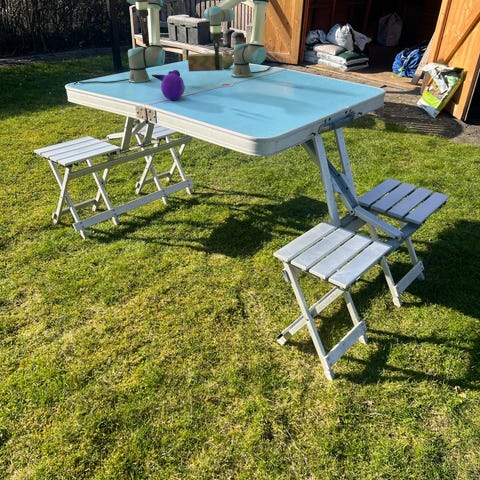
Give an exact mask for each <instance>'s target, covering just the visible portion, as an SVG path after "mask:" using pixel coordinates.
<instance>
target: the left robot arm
mask: <svg viewBox="0 0 480 480" xmlns="http://www.w3.org/2000/svg"><path fill="white" fill-rule="evenodd" d="M126 2H127V3H129V4H130V5H133V6H135V9H136V16H137V17H139V22H140V33H141V39H142V45H145V47H146V48H144V47H143V46H138V47H134V48H130V49H128V50H127V56H128V66H129V76H128V78H124V79H119V80H108V81H107V80H106V81H105V80H104V81H99V80H94V81H93V80H91V81H81V80H80V81H75V82H74V83H73V85H77V84H95V83H99V84H111V83H120V82H127V81H128V82H129V83H133V84H141V83H148V82H150V76H149V74H148V71H147V67H162V66H163V65H165V61H166V49H165V48H163V45H162V44H161V29H160V10H161V8H162V6H163V5H164V4H163V3H164V2H163V0H126ZM78 82H79V83H78Z"/></svg>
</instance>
